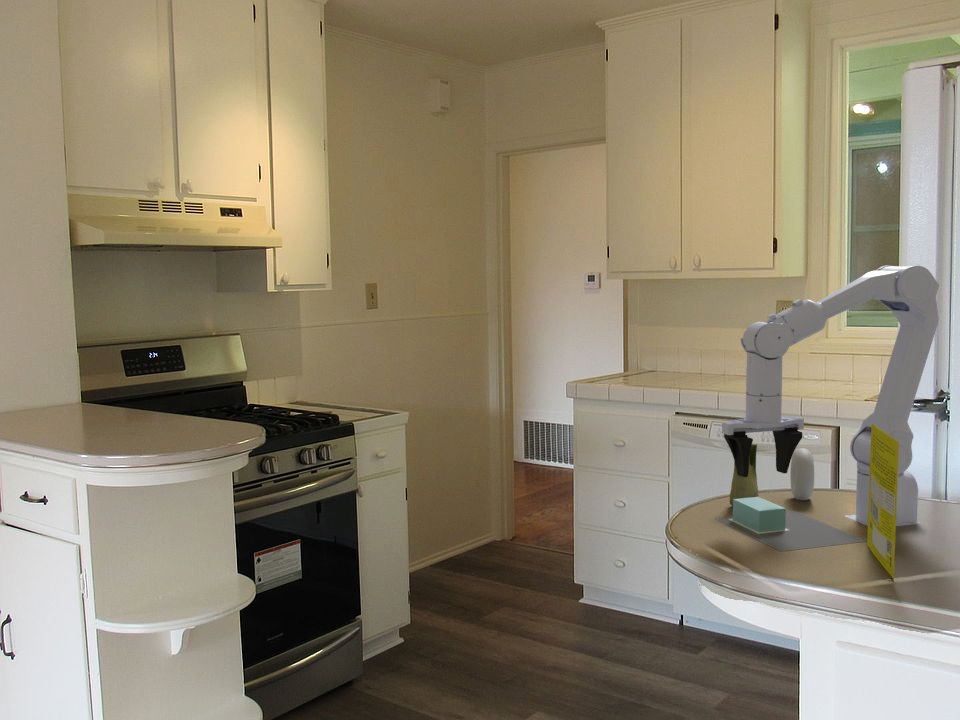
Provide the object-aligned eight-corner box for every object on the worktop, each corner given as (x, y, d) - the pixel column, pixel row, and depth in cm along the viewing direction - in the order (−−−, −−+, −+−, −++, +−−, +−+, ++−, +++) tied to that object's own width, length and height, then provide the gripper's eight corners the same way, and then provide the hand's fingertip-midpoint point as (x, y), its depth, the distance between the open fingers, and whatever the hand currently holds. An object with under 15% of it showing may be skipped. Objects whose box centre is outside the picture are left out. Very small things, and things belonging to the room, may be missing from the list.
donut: (815, 507, 167) (816, 454, 166) (795, 507, 168) (796, 453, 167) (807, 494, 177) (808, 443, 176) (788, 493, 178) (789, 443, 177)
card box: (785, 529, 152) (785, 508, 152) (758, 532, 151) (759, 511, 150) (757, 516, 160) (758, 496, 159) (732, 519, 158) (732, 499, 158)
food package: (897, 583, 128) (902, 442, 126) (889, 582, 128) (894, 442, 126) (870, 549, 143) (875, 423, 141) (863, 549, 143) (867, 423, 141)
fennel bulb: (753, 503, 171) (754, 440, 170) (765, 510, 166) (766, 445, 165) (723, 505, 170) (724, 441, 169) (734, 512, 165) (735, 446, 164)
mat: (794, 514, 164) (794, 510, 163) (867, 544, 145) (867, 540, 145) (714, 522, 159) (714, 518, 159) (780, 555, 141) (780, 551, 141)
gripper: (786, 388, 159) (785, 465, 160) (712, 393, 155) (711, 472, 156) (812, 394, 152) (810, 474, 153) (735, 399, 148) (734, 481, 149)
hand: (762, 474), depth 154 cm, fingers open, 7 cm apart
